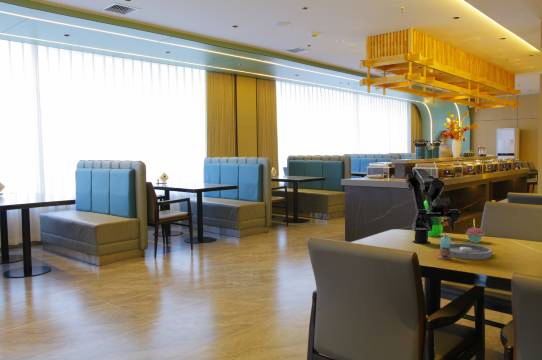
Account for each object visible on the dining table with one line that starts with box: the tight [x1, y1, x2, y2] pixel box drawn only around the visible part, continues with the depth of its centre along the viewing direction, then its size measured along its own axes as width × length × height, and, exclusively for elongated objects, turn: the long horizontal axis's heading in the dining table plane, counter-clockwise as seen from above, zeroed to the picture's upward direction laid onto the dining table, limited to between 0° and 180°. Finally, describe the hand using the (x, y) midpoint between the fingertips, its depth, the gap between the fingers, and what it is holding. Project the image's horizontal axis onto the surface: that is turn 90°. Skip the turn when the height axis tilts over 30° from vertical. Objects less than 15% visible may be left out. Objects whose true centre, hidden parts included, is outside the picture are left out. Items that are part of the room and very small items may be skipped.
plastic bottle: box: [423, 197, 444, 238], centre depth 245 cm, size 10×10×25 cm
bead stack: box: [438, 233, 452, 261], centre depth 195 cm, size 5×5×11 cm
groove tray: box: [439, 242, 493, 260], centre depth 204 cm, size 21×21×2 cm
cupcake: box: [465, 218, 485, 244], centre depth 230 cm, size 9×8×12 cm
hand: (441, 230), depth 199 cm, fingers open, 9 cm apart
